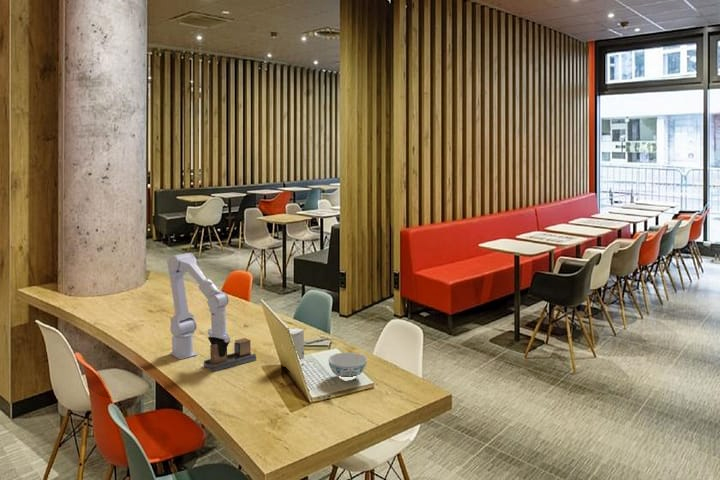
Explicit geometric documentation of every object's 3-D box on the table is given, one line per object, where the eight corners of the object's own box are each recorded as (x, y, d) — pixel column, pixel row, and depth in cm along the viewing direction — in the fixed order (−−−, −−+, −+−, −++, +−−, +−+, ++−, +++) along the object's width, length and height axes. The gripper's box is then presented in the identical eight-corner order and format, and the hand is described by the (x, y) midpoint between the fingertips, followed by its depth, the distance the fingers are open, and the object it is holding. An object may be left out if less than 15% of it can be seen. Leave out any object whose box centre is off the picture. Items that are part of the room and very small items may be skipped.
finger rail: (203, 366, 238) (203, 346, 237) (246, 355, 252) (245, 336, 250) (213, 371, 232) (212, 351, 231) (256, 360, 246) (256, 340, 244)
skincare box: (293, 370, 235) (292, 334, 233) (280, 367, 238) (280, 332, 236) (304, 363, 242) (304, 329, 240) (292, 361, 245) (292, 326, 243)
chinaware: (362, 387, 219) (362, 367, 218) (324, 383, 222) (324, 364, 221) (369, 372, 234) (370, 354, 232) (333, 369, 237) (333, 351, 235)
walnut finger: (210, 361, 238) (210, 345, 237) (222, 358, 241) (222, 342, 240) (215, 364, 235) (215, 347, 234) (227, 361, 239) (227, 344, 237)
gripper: (200, 320, 238) (201, 352, 240) (218, 328, 228) (219, 362, 230) (216, 317, 243) (217, 348, 245) (234, 325, 233) (235, 357, 235)
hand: (219, 354), depth 238 cm, fingers closed on walnut finger, 4 cm apart
